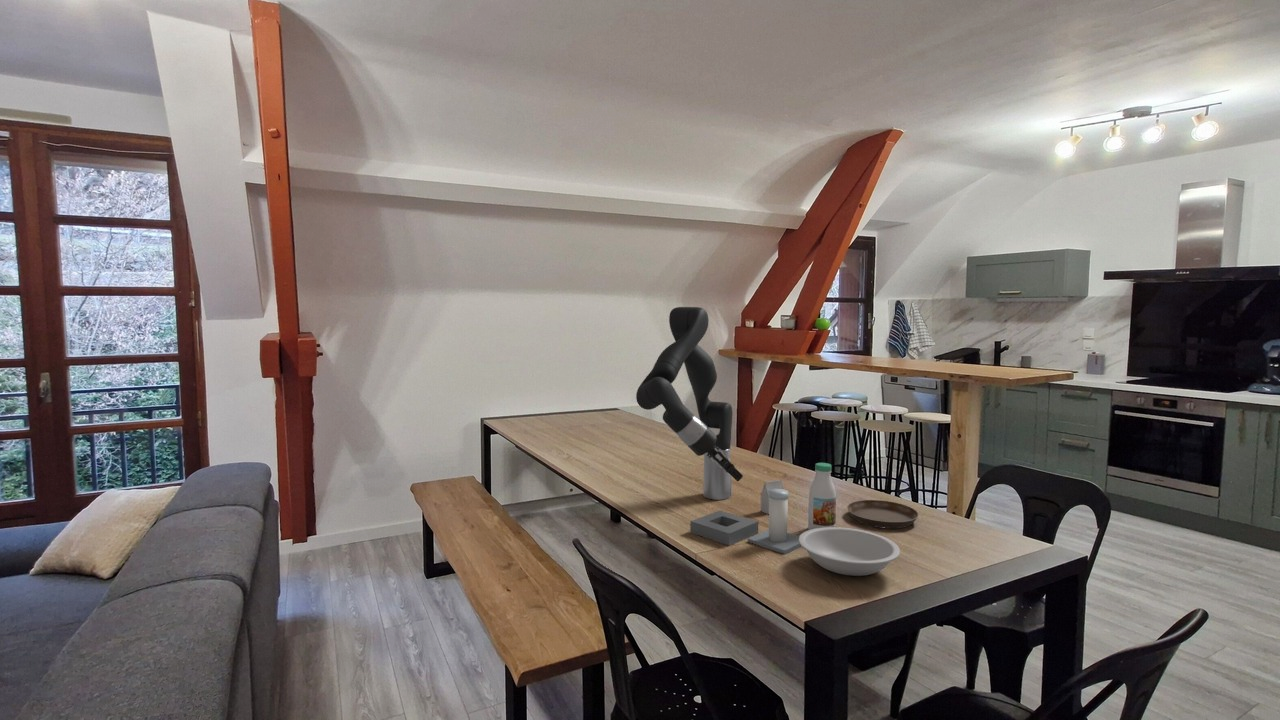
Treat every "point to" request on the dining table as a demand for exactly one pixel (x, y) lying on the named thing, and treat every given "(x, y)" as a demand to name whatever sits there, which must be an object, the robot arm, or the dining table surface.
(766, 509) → the white paper packet
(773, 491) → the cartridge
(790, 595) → the dining table surface
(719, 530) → the housing
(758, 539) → the mat
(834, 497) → the milk bottle
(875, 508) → the plant saucer
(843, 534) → the soup bowl
